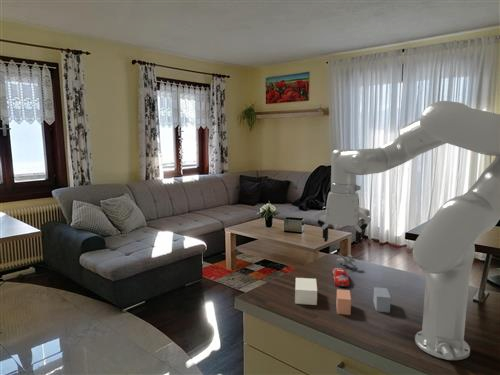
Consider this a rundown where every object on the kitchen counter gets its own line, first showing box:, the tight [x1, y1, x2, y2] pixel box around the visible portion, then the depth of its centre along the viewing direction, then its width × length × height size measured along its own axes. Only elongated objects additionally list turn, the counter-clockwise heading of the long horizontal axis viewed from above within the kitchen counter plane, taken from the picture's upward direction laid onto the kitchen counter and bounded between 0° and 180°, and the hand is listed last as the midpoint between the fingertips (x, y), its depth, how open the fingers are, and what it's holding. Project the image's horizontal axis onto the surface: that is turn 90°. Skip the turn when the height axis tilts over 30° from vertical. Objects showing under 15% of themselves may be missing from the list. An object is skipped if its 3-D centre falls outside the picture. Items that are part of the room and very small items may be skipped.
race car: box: [332, 267, 350, 288], centre depth 137 cm, size 13×5×4 cm, turn 171°
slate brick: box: [372, 286, 392, 313], centre depth 116 cm, size 7×4×5 cm, turn 168°
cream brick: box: [294, 277, 318, 306], centre depth 123 cm, size 10×7×5 cm
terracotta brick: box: [336, 288, 352, 316], centre depth 114 cm, size 7×4×5 cm, turn 168°
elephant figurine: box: [336, 252, 358, 270], centre depth 151 cm, size 10×6×9 cm
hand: (341, 242), depth 116 cm, fingers open, 9 cm apart
